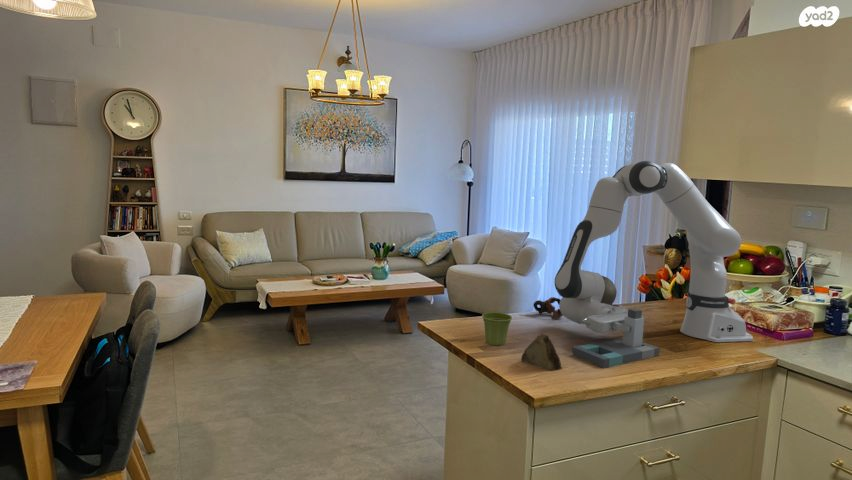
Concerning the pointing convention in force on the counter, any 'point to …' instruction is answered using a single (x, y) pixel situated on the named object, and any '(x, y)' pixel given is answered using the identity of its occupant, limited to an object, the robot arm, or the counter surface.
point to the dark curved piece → (548, 307)
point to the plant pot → (496, 327)
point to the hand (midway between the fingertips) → (636, 328)
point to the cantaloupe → (609, 292)
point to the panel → (613, 352)
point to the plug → (634, 328)
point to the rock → (542, 354)
